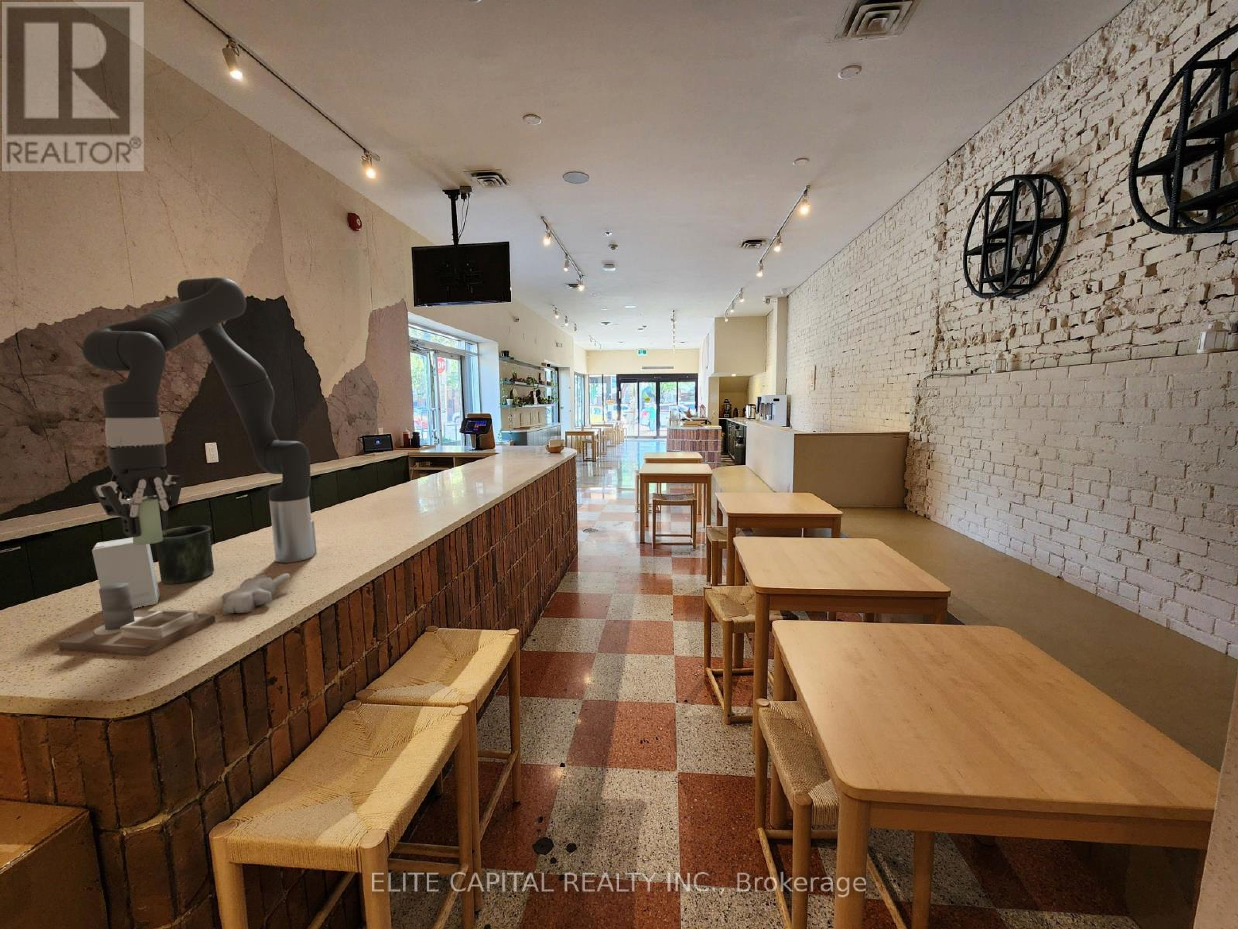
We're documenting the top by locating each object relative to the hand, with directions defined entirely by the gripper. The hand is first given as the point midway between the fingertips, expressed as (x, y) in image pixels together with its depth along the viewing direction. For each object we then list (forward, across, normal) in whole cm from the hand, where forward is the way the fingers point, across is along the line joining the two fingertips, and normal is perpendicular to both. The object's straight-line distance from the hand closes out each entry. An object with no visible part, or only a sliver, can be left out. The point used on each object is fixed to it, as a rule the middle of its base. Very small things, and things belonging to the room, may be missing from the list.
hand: (147, 532), depth 91 cm
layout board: (+20, +1, -3) cm, 20 cm away
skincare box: (+20, -10, -19) cm, 30 cm away
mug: (+20, -28, -24) cm, 42 cm away
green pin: (+2, 0, 0) cm, 2 cm away
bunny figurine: (+20, -16, +6) cm, 26 cm away
